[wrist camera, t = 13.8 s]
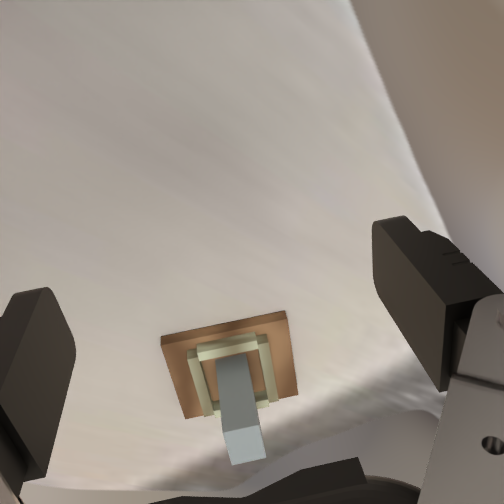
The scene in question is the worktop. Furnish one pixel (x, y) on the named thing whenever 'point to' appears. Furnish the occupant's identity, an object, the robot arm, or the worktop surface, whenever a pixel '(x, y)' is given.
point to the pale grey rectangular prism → (239, 410)
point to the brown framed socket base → (224, 345)
